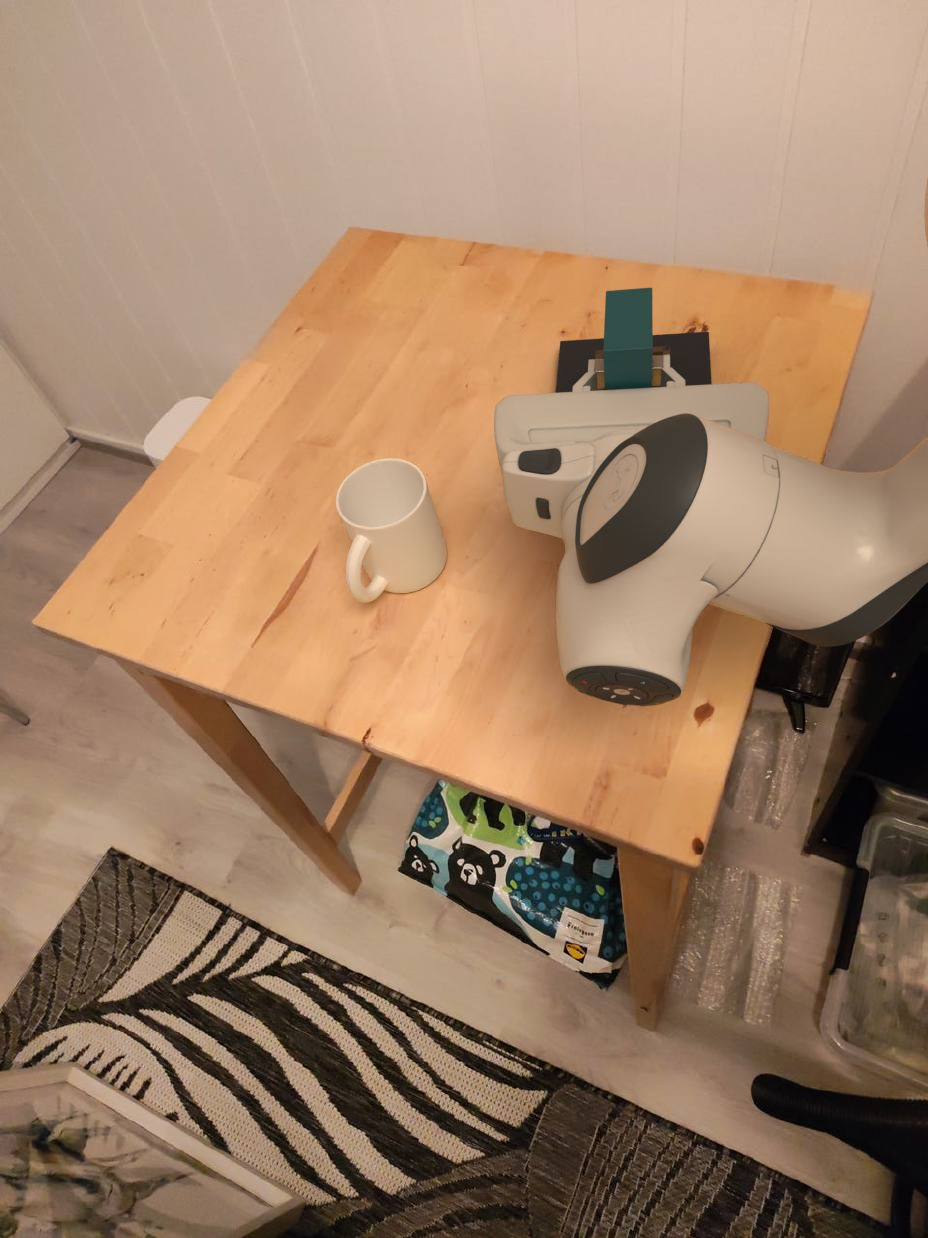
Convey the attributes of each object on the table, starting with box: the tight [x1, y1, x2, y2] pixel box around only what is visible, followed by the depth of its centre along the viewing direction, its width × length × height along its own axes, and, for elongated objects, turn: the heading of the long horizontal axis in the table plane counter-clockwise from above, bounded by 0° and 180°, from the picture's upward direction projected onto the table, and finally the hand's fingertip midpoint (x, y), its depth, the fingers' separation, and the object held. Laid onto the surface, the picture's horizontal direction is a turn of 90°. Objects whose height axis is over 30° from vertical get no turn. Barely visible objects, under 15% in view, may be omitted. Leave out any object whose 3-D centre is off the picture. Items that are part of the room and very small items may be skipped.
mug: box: [335, 457, 448, 603], centre depth 74 cm, size 12×8×10 cm
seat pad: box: [555, 331, 713, 393], centre depth 83 cm, size 16×20×4 cm
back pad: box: [603, 287, 654, 390], centre depth 65 cm, size 4×7×11 cm, turn 173°
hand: (628, 363), depth 65 cm, fingers closed on back pad, 3 cm apart
